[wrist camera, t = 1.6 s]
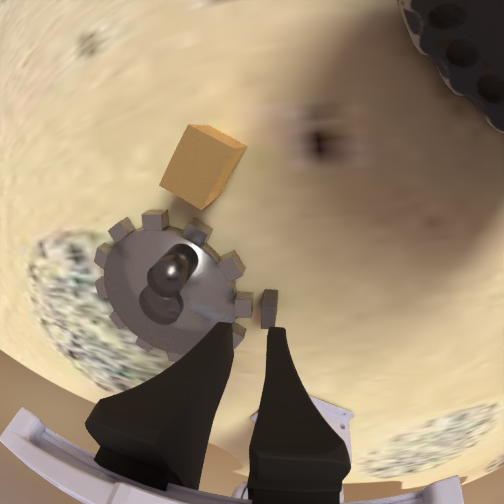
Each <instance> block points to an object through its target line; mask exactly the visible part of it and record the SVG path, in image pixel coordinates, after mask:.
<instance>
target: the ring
mask: <svg viewBox="0 0 504 504" xmlns="http://www.w3.org/2000/svg"><path fill="white" fill-rule="evenodd" d="M397 2H398V5H399V8H400V11H401V14H402V16H403V19H404V22H405V25H406V27H407V30H408V32H409V35H410V37H411V40H412V42H413V44H414V45H415V47H416V48H417V50H418V51H419V52H420V54H423V55H426V56H427V57H428V58H429V59H430V60H431V61H432V62H433V63H434V65H435V66H436V68H437V70H438V72H439V73H440V75H441V77H442V79H443V81H444V82H445V84H446V85H447V86H448V87H449V88H450V89H451V90H452V91H453V92H454V93H455V94H456V95H461V96H465V97H467V98H468V99H470V100H471V101H472V102H473V103H474V104H475V105H476V106H477V107H478V109H479V110H480V111H481V113H482V114H483V116H484V117H485V119H486V121H487V122H488V124H489V125H491V126H492V127H493V128H494V129H495V130H496V131H498V132H499V133H504V0H397Z"/></svg>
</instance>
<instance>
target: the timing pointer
mask: <svg viewBox="0 0 504 504" xmlns="http://www.w3.org/2000/svg"><path fill="white" fill-rule="evenodd" d="M277 300H278V290H267V289H265V293H264V297H263V302H262V306H261V329H269V327H275V321H276V314H277Z"/></svg>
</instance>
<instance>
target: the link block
mask: <svg viewBox="0 0 504 504" xmlns="http://www.w3.org/2000/svg"><path fill="white" fill-rule="evenodd" d="M246 148H247V146H246V145H244V144H242V143H240V142H239V141H237V140H235V139H233V138H231V137H230V136H228V135H226V134H224V133H222V132H220V131H218V130H217V129H215V128H213V127H211V126H206V125H190V124H188V126H187V128H186V130H185V132H184V134H183V136H182V138H181V140H180V142H179V144H178V146H177V148H176V150H175V152H174V154H173V156H172V158H171V161H170V163H169V165H168V167H167V169H166V171H165V174H164V176H163V178H162V180H161V183H160V185H159V186H161V187H163V188H164V189H166V190H168V191H170V192H171V193H173V194H175V195H176V196H178V197H180V198H181V199H183V200H185V201H187V202H188V203H190V204H192V205H193V206H195V207H197V208H198V209H200V210H203V209H204V208H205V207H206V206H207V205H209V204H210V203H211V202H212V201H213V200H215V199H216V198H217V197H218V196H219V195H220V194H221V192H222V190H223V188H224V186H225V184H226V183H227V181H228V179H229V177H230V176H231V174H232V172H233V170H234V169H235V167H236V165H237V163H238V162H239V160H240V158H241V156H242V155H243V153H244V151H245V150H246Z"/></svg>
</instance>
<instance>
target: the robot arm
mask: <svg viewBox="0 0 504 504" xmlns="http://www.w3.org/2000/svg"><path fill="white" fill-rule="evenodd" d="M233 358H234V348H233V330H232V323H228V322H218V323H216V324H215V326H214V327H213V328H212V329H211V330H210V331H209V332H208V333H207V334H206V335H205V336H204V337H203V338H202V339H201V340H200V341H199V342H198V343H197V344H196V345H195V346H194V347H193V348H192V349H191V350H190V351H189V352H188V353H186V354H185V355H184V356H183V357H182V358H180V359H179V360H178V361H177V362H176V363H174V364H173V365H172V366H170V367H169V368H167V369H166V370H164V371H163V372H161V373H160V374H158V375H157V376H155V377H153V378H151V379H150V380H148V381H146V382H144V383H142V384H140V385H138V386H136V387H134V388H132V389H129V390H127V391H124V392H122V393H119V394H116V395H113V396H110V397H106V398H103V399H100V400H99V402H98V403H97V404H96V406H95V407H94V409H93V410H92V412H91V414H90V415H89V417H88V419H87V420H86V422H85V426H86V429H87V430H88V432H89V433H90V434H91V436H92V437H93V438H94V439H95V440H96V442H97V443H98V444H99V445H100V446H101V447H100V449H99V450H98V452H97V454H96V455H95V454H93V453H91V452H89V451H87V450H85V449H83V448H81V447H79V446H77V445H75V444H74V443H72V442H70V441H68V440H66V439H65V438H63V437H61V436H59V435H58V434H56V433H54V432H53V431H51V430H49V429H48V428H46V426H45V425H44V424H43V422H42V421H41V420H40V419H39V418H38V417H36V416H35V415H34V414H32V413H31V412H29V411H28V410H26V409H25V408H23V407H22V408H21V409H20V410H19V412H18V413H17V414H16V415H15V417H14V418H13V420H12V421H11V422H10V424H9V425H8V426H7V428H6V429H5V431H4V432H3V433H2V435H1V436H0V441H1V442H2V443H3V444H4V445H5V446H6V447H7V448H8V449H9V450H10V451H12V453H14V454H15V455H16V456H17V457H18V458H19V459H20V460H21V461H23V462H24V463H25V464H26V465H28V466H29V467H30V468H31V469H33V470H34V471H35V472H37V473H38V474H39V475H41V476H42V477H43V478H45V479H46V480H48V481H49V482H51V483H52V484H53V485H55V486H56V487H58V488H59V489H61V490H62V491H64V492H65V493H67V494H69V495H71V496H72V497H74V498H75V499H77V500H79V501H80V502H82V503H84V504H464V500H463V495H462V489H461V484H460V479H459V476H458V475H456V476H453V477H450V478H446V479H443V480H439V481H436V482H434V483H431V484H429V485H428V486H426V487H425V488H424V489H423V490H421V491H417V492H412V493H408V494H403V495H398V496H392V497H387V498H380V499H372V500H364V501H354V502H343V486H342V481H343V479H344V478H345V477H346V476H347V475H348V473H349V472H350V470H351V461H352V453H351V437H350V423H349V419H351V418H352V417H354V413H353V412H351V411H348V410H345V409H343V408H340V407H337V406H335V405H332V404H329V403H327V402H324V401H322V400H319V399H317V398H314V397H312V396H309V395H308V394H307V392H306V390H305V388H304V386H303V384H302V382H301V380H300V378H299V376H298V373H297V371H296V369H295V366H294V363H293V361H292V358H291V355H290V351H289V348H288V344H287V339H286V330H285V329H284V328H283V327H269V331H268V335H267V352H266V374H265V381H264V386H263V392H262V396H261V401H260V406H259V410H258V412H257V413H255V414H254V415H253V416H252V417H251V421H253V422H255V427H254V431H253V435H252V439H251V442H250V446H249V459H250V473H249V478H248V482H242V483H241V484H240V485H239V486H238V487H236V489H235V490H234V492H233V494H232V496H231V497H228V496H222V495H217V494H212V493H207V492H202V491H198V489H199V483H200V478H201V473H202V467H203V463H204V458H205V453H206V449H207V444H208V440H209V436H210V432H211V428H212V424H213V420H214V417H215V414H216V411H217V408H218V405H219V403H220V400H221V397H222V395H223V392H224V389H225V386H226V384H227V381H228V378H229V375H230V371H231V367H232V362H233Z"/></svg>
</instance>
